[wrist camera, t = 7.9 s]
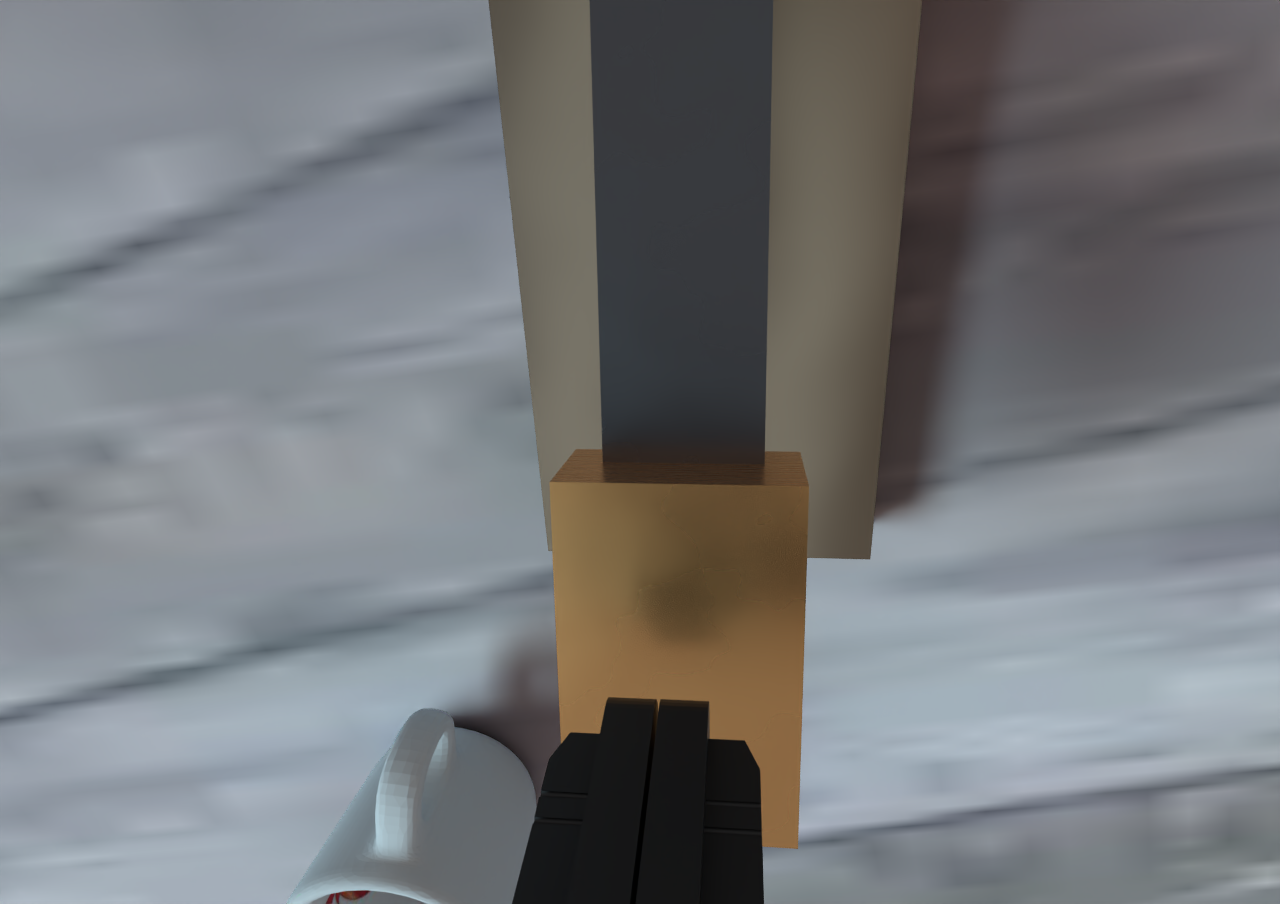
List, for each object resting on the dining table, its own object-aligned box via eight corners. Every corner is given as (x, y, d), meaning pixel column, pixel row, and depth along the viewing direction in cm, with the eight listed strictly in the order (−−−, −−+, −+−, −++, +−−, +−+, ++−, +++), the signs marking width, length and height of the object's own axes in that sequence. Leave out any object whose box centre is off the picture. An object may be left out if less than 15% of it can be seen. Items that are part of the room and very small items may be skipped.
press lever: (591, 744, 19) (564, 833, 16) (545, -603, 14) (491, -832, 11) (789, 755, 19) (797, 848, 16) (828, -642, 13) (852, -893, 10)
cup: (354, 631, 32) (243, 803, 25) (561, 656, 32) (508, 839, 25) (377, 826, 37) (291, 1016, 30) (557, 851, 37) (512, 1050, 30)
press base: (560, 518, 29) (505, 667, 22) (451, -583, 17) (267, -957, 11) (862, 524, 28) (898, 684, 21) (964, -653, 16) (1116, -1124, 9)
